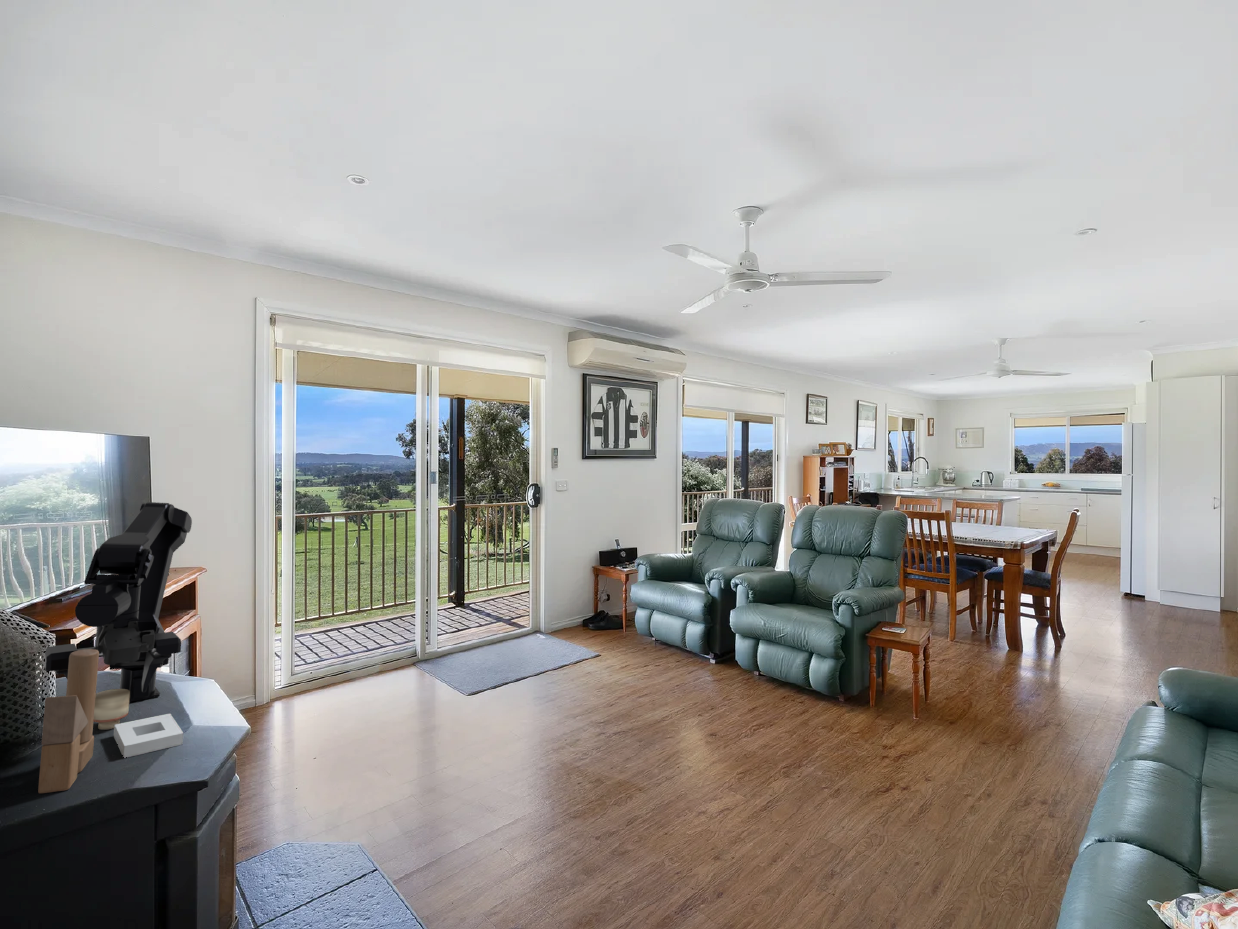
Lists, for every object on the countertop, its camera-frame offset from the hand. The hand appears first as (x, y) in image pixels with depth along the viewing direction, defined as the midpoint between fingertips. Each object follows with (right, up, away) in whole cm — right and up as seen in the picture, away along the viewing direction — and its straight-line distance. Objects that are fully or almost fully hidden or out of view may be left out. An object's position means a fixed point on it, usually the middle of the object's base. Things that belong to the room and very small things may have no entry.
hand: (111, 697), depth 109 cm
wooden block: (+7, -6, -16) cm, 18 cm away
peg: (0, -5, 0) cm, 5 cm away
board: (+10, -6, -4) cm, 12 cm away
